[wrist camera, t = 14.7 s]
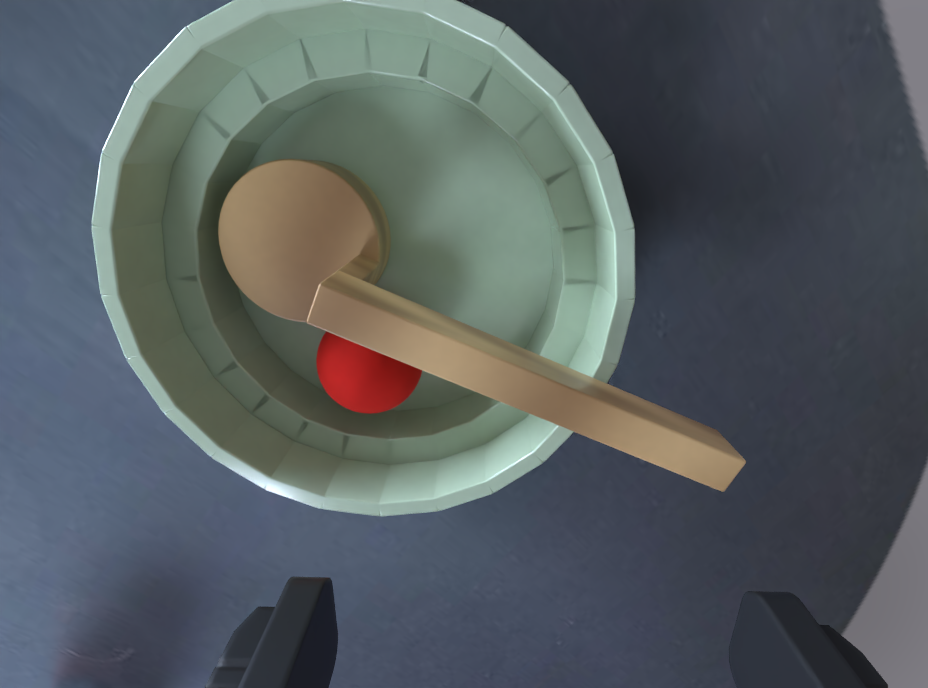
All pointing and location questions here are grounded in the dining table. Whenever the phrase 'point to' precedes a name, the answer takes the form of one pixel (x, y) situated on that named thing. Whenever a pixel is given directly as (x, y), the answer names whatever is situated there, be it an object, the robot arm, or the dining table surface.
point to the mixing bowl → (411, 229)
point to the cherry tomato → (363, 376)
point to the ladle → (425, 315)
